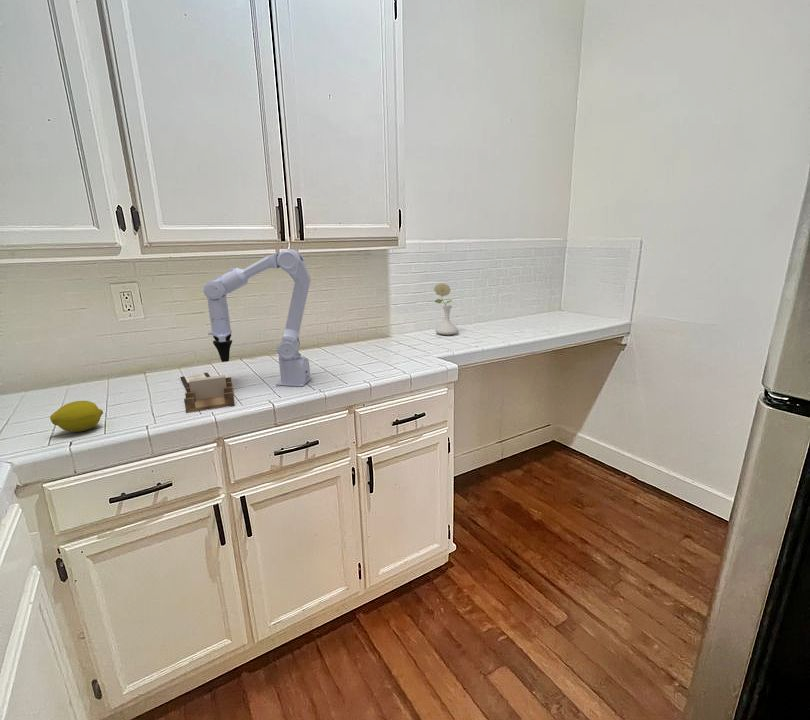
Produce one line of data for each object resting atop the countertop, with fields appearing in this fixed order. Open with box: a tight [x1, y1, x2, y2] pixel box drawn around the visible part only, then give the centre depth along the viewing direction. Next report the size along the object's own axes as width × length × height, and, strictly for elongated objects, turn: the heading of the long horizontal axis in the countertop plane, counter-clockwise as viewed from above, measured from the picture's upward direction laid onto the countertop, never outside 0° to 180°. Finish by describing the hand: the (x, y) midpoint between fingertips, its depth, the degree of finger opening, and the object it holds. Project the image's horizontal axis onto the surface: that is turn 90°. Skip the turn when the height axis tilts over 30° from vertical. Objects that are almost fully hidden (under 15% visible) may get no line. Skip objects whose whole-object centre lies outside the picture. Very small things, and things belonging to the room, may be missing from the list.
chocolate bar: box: [180, 372, 211, 390], centre depth 149 cm, size 9×1×18 cm
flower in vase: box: [433, 282, 459, 336], centre depth 213 cm, size 13×11×25 cm
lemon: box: [49, 400, 104, 433], centre depth 113 cm, size 11×8×8 cm
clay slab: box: [189, 374, 227, 400], centre depth 133 cm, size 10×2×6 cm, turn 113°
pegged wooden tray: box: [183, 376, 236, 414], centre depth 133 cm, size 13×16×4 cm
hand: (225, 358), depth 144 cm, fingers open, 7 cm apart
